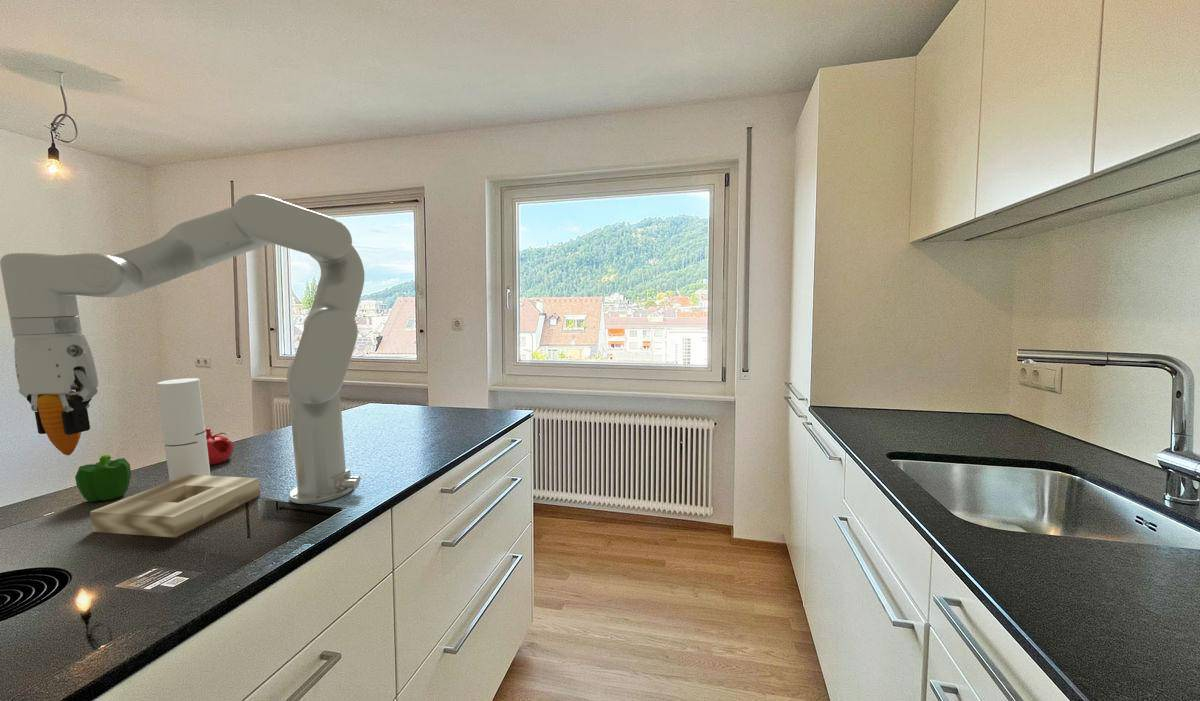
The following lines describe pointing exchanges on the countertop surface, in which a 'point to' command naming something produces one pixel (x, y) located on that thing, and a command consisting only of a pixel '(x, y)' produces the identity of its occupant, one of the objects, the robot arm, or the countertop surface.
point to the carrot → (56, 423)
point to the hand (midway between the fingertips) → (64, 431)
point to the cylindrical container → (183, 427)
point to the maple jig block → (175, 506)
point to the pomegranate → (218, 447)
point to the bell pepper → (104, 479)
